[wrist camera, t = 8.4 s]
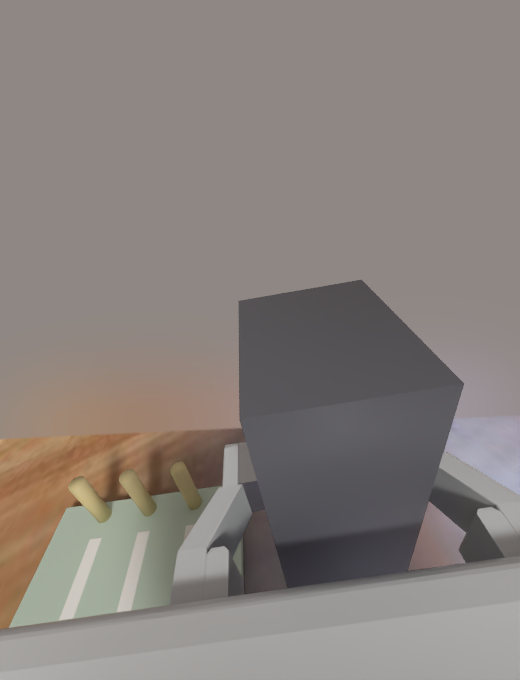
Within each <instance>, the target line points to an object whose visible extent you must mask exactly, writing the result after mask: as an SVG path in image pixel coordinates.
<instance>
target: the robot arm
mask: <svg viewBox="0 0 520 680" xmlns="http://www.w3.org/2000/svg"><path fill="white" fill-rule="evenodd" d="M429 501H430V502H431V503H432V504H433V505H435V506H436V507H437V508H438V509H439V510H440V511H442V512H443V513H444V514H445V515H446V516H447V517H449V518H450V519H451V520H452V521H453V522H454V523H455V524H457V525H458V526H459V527H460V528H461V529H462V530H464V531H465V532H466V535H465V537H464V539H463V541H462V543H461V545H460V548H459V551H460V553H461V555H462V557H463V559H464V560H465V562H466V563H462V564H455V565H448V566H441V567H434V568H427V569H420V570H413V571H406V572H399V573H392V574H385V575H377V576H370V577H363V578H356V579H349V580H342V581H335V582H328V583H321V584H314V585H307V586H300V587H293V588H286V589H279V590H271V591H264V592H257V593H250V594H244V581H243V579H242V576H241V574H240V572H239V570H238V568H237V566H236V564H235V562H234V560H233V557H234V554H235V552H236V550H237V547H238V545H239V543H240V541H241V538H242V536H243V534H244V531H245V529H246V527H247V525H248V522H249V520H250V518H251V515H252V512H255V511H260V510H265V507H264V503H263V500H262V496H261V493H260V489H259V486H258V482H257V479H256V475H255V472H254V468H253V465H252V461H251V458H250V454H249V451H248V447H247V444H246V442H241V443H234V444H227V445H225V448H224V463H223V485H222V487H219V488H218V489H217V491H216V492H215V494H214V495H213V497H212V498H211V500H210V502H209V503H208V505H207V506H206V508H205V509H204V511H203V513H202V514H201V516H200V517H199V519H198V520H197V522H196V524H195V525H194V527H193V528H192V530H191V531H190V533H189V535H188V536H187V538H186V539H185V541H184V542H183V544H182V545H181V547H180V549H179V550H178V552H177V559H176V565H175V572H174V578H173V585H172V591H171V597H170V604H169V605H166V606H159V607H152V608H144V609H137V610H130V611H123V612H116V613H109V614H102V615H95V616H88V617H81V618H74V619H67V620H60V621H53V622H46V623H39V624H32V625H25V626H18V627H11V628H4V629H0V680H520V496H519V495H518V494H516V493H514V492H513V491H511V490H509V489H508V488H506V487H504V486H503V485H501V484H499V483H498V482H496V481H494V480H493V479H491V478H489V477H488V476H486V475H484V474H483V473H481V472H479V471H478V470H476V469H474V468H473V467H471V466H469V465H468V464H466V463H464V462H463V461H461V460H459V459H458V458H456V457H454V456H453V455H451V454H449V453H448V452H447V453H443V455H442V458H441V462H440V465H439V468H438V472H437V475H436V478H435V481H434V485H433V488H432V491H431V495H430V498H429Z"/></svg>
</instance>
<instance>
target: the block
mask: <svg viewBox="0 0 520 680" xmlns="http://www.w3.org/2000/svg"><path fill="white" fill-rule="evenodd" d="M463 385H464V383H463V382H462V381H461V380H460V379H459V378H458V377H457V376H456V375H455V374H454V373H453V372H452V371H451V370H450V369H449V368H448V367H447V366H446V365H445V364H444V363H443V362H442V361H441V360H440V359H439V358H438V357H437V356H436V355H435V354H434V353H433V352H432V351H431V350H430V349H429V348H428V347H427V346H426V345H425V344H424V343H423V342H422V340H421V339H420V338H418V336H417V335H415V333H414V332H412V330H411V329H410V328H409V327H408V326H407V325H406V324H405V323H404V322H402V320H401V319H400V318H399V317H398V316H397V315H396V314H395V313H394V312H393V311H392V310H391V309H390V308H389V307H388V306H387V305H386V304H385V303H384V302H383V301H382V300H381V299H380V298H379V297H378V296H377V295H376V294H375V293H374V292H373V291H372V290H371V289H370V288H369V287H368V286H367V285H366V284H365V283H364V282H363V281H362V280H358V281H352V282H346V283H340V284H335V285H329V286H323V287H318V288H311V289H306V290H300V291H294V292H288V293H282V294H277V295H272V296H265V297H260V298H254V299H248V300H242V301H239V393H240V394H239V395H240V397H239V399H240V422H241V426H242V430H243V433H244V437H245V440H246V444H247V447H248V451H249V454H250V458H251V461H252V465H253V468H254V472H255V475H256V479H257V482H258V486H259V489H260V493H261V496H262V500H263V503H264V507H265V510H266V514H267V517H268V521H269V524H270V528H271V531H272V535H273V538H274V542H275V545H276V549H277V552H278V556H279V559H280V563H281V566H282V570H283V573H284V577H285V580H286V584H287V588H293V587H300V586H307V585H314V584H321V583H328V582H335V581H342V580H349V579H356V578H363V577H370V576H377V575H385V574H392V573H399V572H406V571H408V567H409V564H410V561H411V558H412V554H413V551H414V548H415V544H416V541H417V538H418V534H419V531H420V528H421V524H422V521H423V518H424V515H425V511H426V508H427V505H428V501H429V498H430V495H431V491H432V488H433V485H434V481H435V478H436V475H437V472H438V468H439V465H440V462H441V458H442V455H443V452H444V448H445V445H446V442H447V439H448V435H449V432H450V429H451V425H452V422H453V419H454V415H455V412H456V409H457V405H458V402H459V398H460V396H461V392H462V389H463Z"/></svg>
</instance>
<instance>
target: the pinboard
mask: <svg viewBox="0 0 520 680" xmlns="http://www.w3.org/2000/svg"><path fill="white" fill-rule="evenodd" d="M170 474H171V475H172V477H173V479H174V481H175V483H176V485H177V487H178V488H179V490H180V492H174V493H167V494H160V495H153V496H150V494H149V493H148V491H147V490H146V488H145V486H144V485H143V483H142V482H141V480H140V479H139V477H138V476H137V474H136V473H135V471H134V470H133V469H127V470H125V471H124V472H123V473H122V474H121V475H120V477H119V482H120V483H121V484H122V486H123V487H124V489H125V490H126V491H127V493H128V494H129V496H130V497H131V498H132V499H126V500H119V501H112V502H104V501H103V499H102V498H101V497H100V496H99V495H98V493H97V492H96V491H95V490H94V489H93V487H92V486H91V485H90V484H89V482H88V481H87V480H86V479H85V478H84V477H83V476H79V477H77V478H75V479H74V480H72V481H71V483H70V484H69V487H68V489H69V490H70V492H71V493H72V494H73V495H74V496H75V497H76V498H77V499H78V500H79V501H80V502H81V504H82V505H83V506H77V507H70V508H67V509H66V511H65V513H64V515H63V517H62V519H61V521H60V523H59V525H58V527H57V529H56V531H55V533H54V536H53V538H52V540H51V542H50V544H49V546H48V548H47V550H46V552H45V554H44V556H43V558H42V560H41V562H40V564H39V567H38V569H37V571H36V573H35V575H34V577H33V579H32V581H31V583H30V585H29V587H28V589H27V591H26V593H25V595H24V598H23V600H22V602H21V604H20V606H19V608H18V610H17V612H16V614H15V616H14V618H13V620H12V622H11V624H10V626H9V628H11V627H18V626H25V625H32V624H39V623H46V622H53V621H60V620H67V619H74V618H81V617H88V616H95V615H102V614H109V613H116V612H123V611H130V610H137V609H144V608H152V607H159V606H166V605H169V604H170V597H171V591H172V585H173V578H174V572H175V565H176V559H177V552H178V550H179V549H180V547H181V545H182V544H183V542H184V541H185V539H186V538H187V536H188V535H189V533H190V531H191V530H192V528H193V527H194V525H195V524H196V522H197V520H198V519H199V517H200V516H201V514H202V513H203V511H204V509H205V508H206V506H207V505H208V503H209V502H210V500H211V498H212V497H213V495H214V494H215V492H216V491H217V489H218V488H219V487H222V486H215V487H208V488H201V489H196V486H195V484H194V482H193V480H192V478H191V476H190V474H189V472H188V470H187V467H186V465H185V463H183V462H176V463H175V464H173V465H172V467H171V468H170ZM233 560H234V562H235V564H236V566H237V568H238V570H239V572H240V574H241V576H242V579H243V581H244V573H243V536H242V538H241V541H240V543H239V545H238V547H237V550H236V552H235V554H234V557H233Z"/></svg>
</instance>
